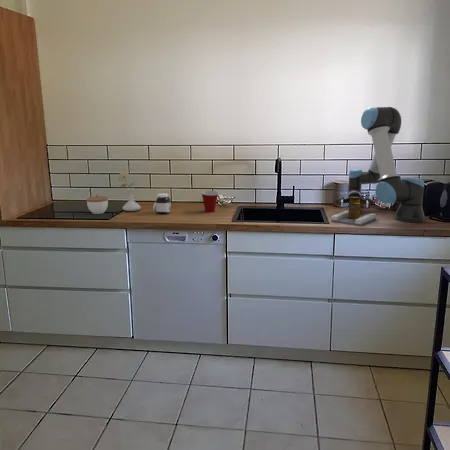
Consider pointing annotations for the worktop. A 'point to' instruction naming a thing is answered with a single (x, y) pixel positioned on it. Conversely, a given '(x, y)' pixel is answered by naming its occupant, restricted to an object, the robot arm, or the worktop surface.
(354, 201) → the condiment
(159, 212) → the spread jar
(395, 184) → the robot arm
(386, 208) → the worktop surface
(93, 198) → the lidded bowl
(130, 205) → the flower in vase
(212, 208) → the plastic cup
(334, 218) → the grey tray with rails
